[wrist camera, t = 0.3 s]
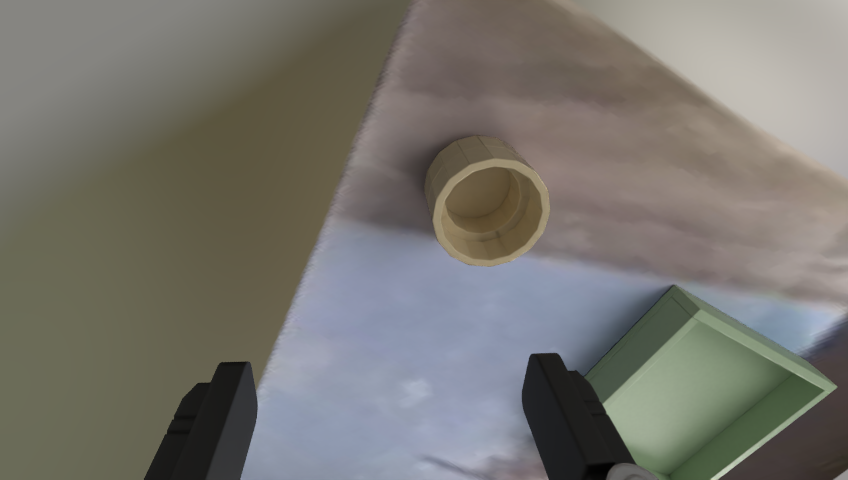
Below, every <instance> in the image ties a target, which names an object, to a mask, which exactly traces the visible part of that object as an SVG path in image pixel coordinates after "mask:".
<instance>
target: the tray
mask: <svg viewBox="0 0 848 480" xmlns="http://www.w3.org/2000/svg"><path fill="white" fill-rule="evenodd" d="M584 378H585V379H586V380H587V381H588V382H589V383H591V385H592V387H593V389H594V390H595V392H596V394H597V396H598V398H599V401H600V402H601V403H602V405H603V406H604V408H605V410H606V414H607V415H609V417H610V419H611V420H612V422H613V424H614V426H615V427H616V429H617V431H618V433H619V434H620V436H621V438H622V440H623V441H624V443H625V445H626V447H627V448H628V450H629V452H630V454H631V456H632V457H633V459H634V461H635V462H636V464H637V465H638V466H641V467H643V468H645V469H647V470H648V471H650V472H651V473H653V474H654V475H655V476H656V477H657V478H658V479H659V480H718V479H719V478H720V477H722V476H723V475H724V474H725V473H727V472H728V471H729V470H731V469H732V468H733V467H735V466H736V465H737V464H738V463H740V462H741V461H742V460H744V459H745V458H746V457H748V456H749V455H750V454H751V453H753V452H754V451H755V450H757V449H758V448H759V447H761V446H762V445H763V444H765V443H766V442H767V441H768V440H770V439H771V438H772V437H774V436H775V435H776V434H778V433H779V432H780V431H781V430H783V429H784V428H785V427H787V426H788V425H789V424H791V423H792V422H793V421H794V420H796V419H797V418H798V417H800V416H801V415H802V414H804V413H805V412H806V411H807V410H809V409H810V408H811V407H813V406H814V405H815V404H817V403H818V402H819V401H820V400H822V399H823V398H824V397H826V396H827V395H828V394H829V393H831V392H832V391H833V390H835V389H836V388H837V386H836V385H835V384H834V383H833V382H831V381H830V380H829V379H828V378H827V377H825V376H824V375H823V374H822V373H821V372H819V371H818V370H817V369H816V368H815V367H813V366H812V365H811V364H810V363H809V362H807V361H806V360H804V359H803V358H801V357H799V356H797V355H796V354H794V353H792V352H790V351H789V350H787V349H785V348H784V347H782V346H780V345H778V344H777V343H775V342H773V341H771V340H770V339H768V338H766V337H765V336H763V335H761V334H759V333H758V332H756V331H754V330H752V329H751V328H749V327H747V326H746V325H744V324H742V323H740V322H739V321H737V320H735V319H733V318H732V317H730V316H728V315H727V314H725V313H723V312H721V311H720V310H718V309H716V308H714V307H713V306H711V305H709V304H707V303H706V302H704V301H702V300H701V299H699V298H697V297H695V296H694V295H692V294H690V293H688V292H687V291H685V290H683V289H682V288H680V287H678V286H676V285H673V286H672V287H671V288H670V290H669V291H668V292H667V293H666V294H665V295H664V296H663V297H662V298H661V299H660V300H659V301H658V302H657V303H656V304H655V305H654V306H653V307H652V308H651V309H650V310H649V311H648V312H647V313H646V314H645V315H644V316H643V317H642V318H641V319H640V320H639V321H638V322H637V323H636V324H635V325H634V326H633V327H632V328H631V329H630V330H629V332H628V333H627V334H626V335H625V336H624V337H623V338H622V339H621V340H620V341H619V342H618V343H617V344H616V345H615V346H614V347H613V348H612V349H611V350H610V351H609V352H608V353H607V354H606V355H605V356H604V357H603V358H602V359H601V360H600V361H599V362H598V363H597V364H596V365H595V366H594V367H593V368H592V369H591V370H590V371H589V373H588V374H587V375H586V376H585V377H584Z"/></svg>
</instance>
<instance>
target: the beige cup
mask: <svg viewBox="0 0 848 480" xmlns="http://www.w3.org/2000/svg"><path fill="white" fill-rule="evenodd" d="M424 192H425V196H426V200H427V204H428V208H429V212H430V215H431V219H432V223H433V226H434V230H435V234H436V238H437V240H438V242H439V243H440V244H441V246H442V247H443V248H444V249H445V250H446V252H447V253H448V254H449V255H450V256H451V257H453V258H456V259H458V260H460V261H462V262H464V263H466V264H468V265H475V266H487V267H491V266H495V265H499V264H503V263H507V262H510V261H512V260H514V259H516V258H517V257H519V256H520V255H522V254H523V253H525V252H526V251H528V250H529V249H531V247H532V246H533V245H534V244H535V242H536V241H537V240H538V238H539V237H540V236H541V235H542V233H543V231H544V230H545V226H546V223H547V220H548V217H549V214H550V204H549V195H548V189H547V188H546V186H545V185H544V183H543V181H542V180H541V178H540V177H539V175H538V174H537V172H536V171H535V170H534V169H533V168H532V167H531V166H530V165H529V164H528V163H527V162H526V161H525V160H524V159H523V158H522V157H521V156H520V155H519V153H518V152H517V151H516V150H515V149H514V148H513V147H511V146H510V145H508V144H506V143H505V142H503V141H501V140H500V139H498V138H496V137H488V136H480V135H477V136H471V137H467V138H463V139H460V140H457V141H454V142H453V143H451V144H450V145H449V146H447V147H446V148H445V149H443V150H442V151H440V152H439V154H437V156H436V158H435V159H434V161H433V162H432V164H431V166H430V167H429V169H428V171H427V175H426V181H425V187H424Z"/></svg>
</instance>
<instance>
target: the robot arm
mask: <svg viewBox="0 0 848 480" xmlns="http://www.w3.org/2000/svg"><path fill="white" fill-rule="evenodd" d="M522 404H523V410H524V413H525V416H526V418H527V421H528V424H529V427H530V429H531V432H532V435H533V437H534V440H535V443H536V446H537V448H538V451H539V454H540V457H541V459H542V462H543V465H544V467H545V470H546V473H547V476H548V478H549V480H659V479H658V478H657V477H656V476H655V475H654V474H653V473H651V472H650V471H648V470H647V469H645V468H643V467H641V466H638V465H637V464H636V462H635V461H634V459H633V457H632V456H631V454H630V452H629V450H628V448H627V447H626V445H625V443H624V441H623V440H622V438H621V436H620V434H619V433H618V431H617V429H616V427H615V426H614V424H613V422H612V420H611V419H610V417H609V415H607V414H606V410H605V408H604V406H603V405H602V403H601V402H600V401H599V398H598V396H597V394H596V392H595V390H594V389H593V387H592V385H591V383H589V382H588V381H587V380H586V379H585V378H584V377H583V376H582V375H581V374H580V373H578V372H577V371H576V370H575V371H568V370H567V369H566V367H565V365H564V363H563V361H562V359H561V357H560V356H559V354H557V353H541V354H531V355H530V357H529V361H528V366H527V371H526V375H525V380H524V384H523V389H522ZM257 407H258V405H257V396H256V390H255V384H254V379H253V373H252V367H251V364H250V362H221V363H220V364H219V365H218V367H217V369H216V371H215V374H214V376H213V378H212V381H211V383H198V384H196V386H194V388H192V390H191V391H190V392H189V393H188V394H187V395H186V396H185V397H184V398H183V399H182V401H181V403H180V405H179V407H178V409H177V411H176V413H175V415H174V420H172V422H171V424H170V426H169V428H168V430H167V434H166V435H165V436H164V438H163V440H162V443H161V445H160V447H159V449H158V451H157V453H156V455H155V457H154V459H153V461H152V463H151V466H150V468H149V470H148V472H147V474H146V476H145V478H144V480H240V478H241V474H242V471H243V467H244V464H245V460H246V456H247V453H248V449H249V446H250V442H251V438H252V435H253V431H254V427H255V424H256V419H257Z"/></svg>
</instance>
